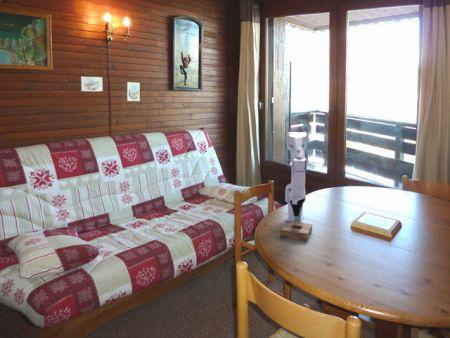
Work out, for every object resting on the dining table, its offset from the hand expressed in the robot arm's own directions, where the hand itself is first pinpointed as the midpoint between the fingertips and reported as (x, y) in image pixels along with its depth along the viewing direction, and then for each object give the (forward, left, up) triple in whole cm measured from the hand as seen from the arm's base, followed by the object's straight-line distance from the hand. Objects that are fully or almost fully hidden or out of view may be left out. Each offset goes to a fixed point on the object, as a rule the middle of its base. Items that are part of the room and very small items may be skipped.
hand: (297, 214), depth 177 cm
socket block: (0, 0, -9) cm, 9 cm away
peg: (0, 0, -3) cm, 3 cm away
